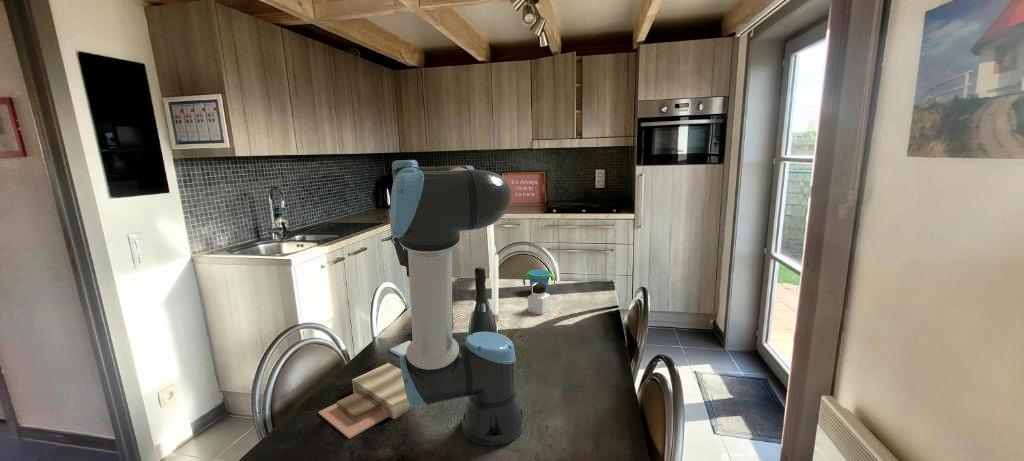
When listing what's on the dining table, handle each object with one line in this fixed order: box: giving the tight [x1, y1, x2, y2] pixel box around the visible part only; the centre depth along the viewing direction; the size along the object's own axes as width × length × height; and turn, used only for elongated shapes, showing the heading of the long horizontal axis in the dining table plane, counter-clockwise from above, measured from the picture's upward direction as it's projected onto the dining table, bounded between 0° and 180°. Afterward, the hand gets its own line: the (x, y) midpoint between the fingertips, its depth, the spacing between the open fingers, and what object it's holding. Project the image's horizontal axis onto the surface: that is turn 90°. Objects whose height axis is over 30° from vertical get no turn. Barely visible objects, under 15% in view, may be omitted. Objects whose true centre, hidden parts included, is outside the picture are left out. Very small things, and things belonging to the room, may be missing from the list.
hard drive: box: [389, 340, 412, 358], centre depth 141 cm, size 2×8×12 cm
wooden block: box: [336, 390, 381, 423], centre depth 109 cm, size 10×7×2 cm
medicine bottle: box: [527, 283, 551, 316], centre depth 174 cm, size 7×7×12 cm
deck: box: [351, 362, 415, 420], centre depth 115 cm, size 20×12×4 cm, turn 50°
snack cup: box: [522, 269, 556, 294], centre depth 198 cm, size 16×10×10 cm
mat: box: [317, 402, 390, 440], centre depth 107 cm, size 16×11×1 cm
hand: (414, 286), depth 128 cm, fingers closed
